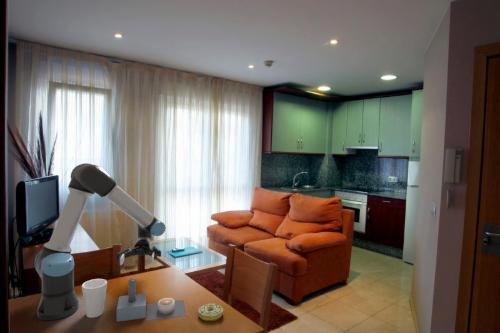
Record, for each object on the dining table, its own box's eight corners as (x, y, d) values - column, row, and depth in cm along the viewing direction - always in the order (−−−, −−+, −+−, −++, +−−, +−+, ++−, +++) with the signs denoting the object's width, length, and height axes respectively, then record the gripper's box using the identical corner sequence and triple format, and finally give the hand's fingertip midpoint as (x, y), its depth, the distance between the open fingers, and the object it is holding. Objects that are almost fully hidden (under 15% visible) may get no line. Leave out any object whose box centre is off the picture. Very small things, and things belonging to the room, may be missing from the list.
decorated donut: (224, 310, 137) (224, 301, 137) (221, 323, 126) (221, 314, 126) (200, 309, 137) (201, 300, 137) (196, 322, 126) (196, 313, 126)
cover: (116, 322, 125) (116, 287, 124) (119, 308, 135) (119, 276, 134) (145, 318, 128) (145, 284, 127) (145, 305, 138) (146, 273, 137)
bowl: (157, 314, 130) (158, 306, 130) (157, 306, 137) (157, 298, 137) (174, 312, 132) (175, 304, 132) (173, 304, 139) (174, 297, 139)
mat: (146, 321, 126) (146, 320, 126) (147, 304, 139) (147, 304, 139) (186, 316, 130) (186, 315, 130) (183, 300, 144) (183, 299, 144)
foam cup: (96, 321, 125) (96, 289, 124) (76, 318, 127) (76, 287, 126) (111, 309, 134) (111, 280, 134) (93, 306, 136) (92, 277, 136)
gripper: (167, 251, 164) (165, 267, 143) (117, 254, 158) (107, 271, 138) (167, 237, 163) (165, 251, 143) (116, 240, 158) (107, 254, 137)
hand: (136, 261), depth 140 cm, fingers open, 13 cm apart
